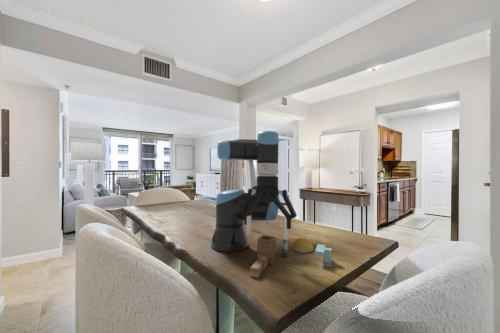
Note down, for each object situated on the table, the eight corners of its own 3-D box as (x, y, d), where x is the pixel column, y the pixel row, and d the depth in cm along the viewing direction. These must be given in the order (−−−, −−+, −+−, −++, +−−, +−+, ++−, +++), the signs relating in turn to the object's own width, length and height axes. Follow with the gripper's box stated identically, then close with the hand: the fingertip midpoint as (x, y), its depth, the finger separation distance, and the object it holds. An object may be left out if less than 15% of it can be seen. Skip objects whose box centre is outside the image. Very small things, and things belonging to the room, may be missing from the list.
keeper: (315, 265, 76) (315, 251, 76) (317, 256, 83) (317, 244, 83) (331, 267, 74) (331, 253, 74) (331, 258, 81) (331, 245, 82)
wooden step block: (262, 278, 66) (262, 251, 66) (245, 275, 68) (246, 248, 68) (275, 259, 80) (275, 236, 81) (261, 257, 82) (262, 235, 82)
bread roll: (291, 252, 88) (291, 242, 88) (293, 245, 96) (293, 236, 96) (313, 254, 86) (313, 244, 86) (313, 247, 94) (313, 237, 94)
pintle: (281, 256, 83) (281, 238, 83) (282, 254, 85) (283, 237, 85) (287, 257, 82) (287, 239, 82) (288, 255, 84) (288, 238, 84)
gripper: (231, 175, 80) (230, 234, 80) (301, 176, 71) (301, 243, 71) (239, 174, 87) (238, 229, 87) (304, 176, 78) (304, 237, 78)
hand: (266, 236), depth 79 cm, fingers open, 13 cm apart
